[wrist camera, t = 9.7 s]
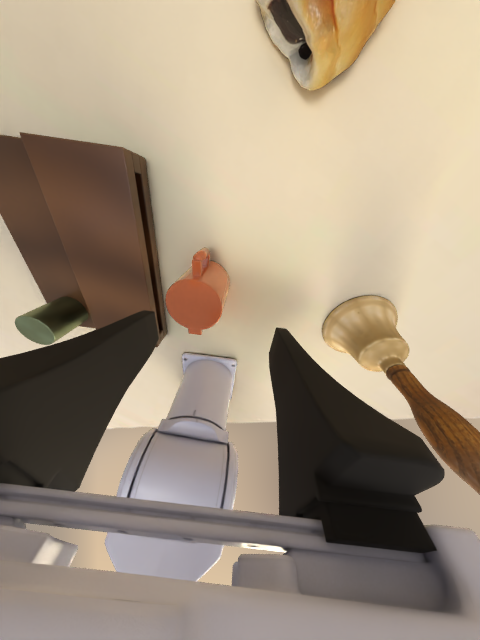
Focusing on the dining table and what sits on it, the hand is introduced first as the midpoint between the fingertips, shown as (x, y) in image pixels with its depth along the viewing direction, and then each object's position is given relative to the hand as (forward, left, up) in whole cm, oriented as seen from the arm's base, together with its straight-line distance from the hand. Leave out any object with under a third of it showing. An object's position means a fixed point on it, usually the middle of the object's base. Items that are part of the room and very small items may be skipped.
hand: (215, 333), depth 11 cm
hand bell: (-4, -16, -11) cm, 20 cm away
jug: (-1, +3, -10) cm, 11 cm away
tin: (-6, +19, -9) cm, 22 cm away
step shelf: (0, +15, -10) cm, 18 cm away
